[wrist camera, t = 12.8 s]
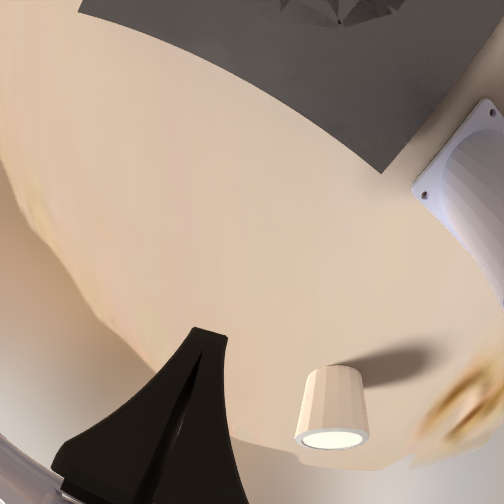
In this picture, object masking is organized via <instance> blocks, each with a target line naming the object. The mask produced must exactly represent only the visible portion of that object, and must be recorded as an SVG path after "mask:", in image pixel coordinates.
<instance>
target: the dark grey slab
mask: <svg viewBox="0 0 504 504" xmlns="http://www.w3.org/2000/svg"><path fill="white" fill-rule="evenodd" d="M78 12H79V13H83V14H87V15H90V16H94V17H97V18H101V19H104V20H107V21H110V22H114V23H117V24H120V25H123V26H125V27H128V28H131V29H134V30H137V31H139V32H142V33H145V34H147V35H150V36H153V37H155V38H158V39H160V40H162V41H165V42H167V43H170V44H172V45H174V46H177V47H179V48H181V49H183V50H186V51H188V52H190V53H192V54H194V55H197V56H199V57H201V58H203V59H205V60H207V61H209V62H211V63H213V64H215V65H217V66H219V67H221V68H223V69H225V70H227V71H229V72H230V73H232V74H234V75H236V76H238V77H240V78H242V79H243V80H245V81H247V82H249V83H251V84H252V85H254V86H256V87H258V88H259V89H261V90H263V91H264V92H266V93H268V94H269V95H271V96H273V97H274V98H276V99H278V100H279V101H281V102H282V103H284V104H286V105H287V106H289V107H290V108H292V109H293V110H295V111H297V112H298V113H300V114H301V115H303V116H304V117H306V118H307V119H309V120H310V121H312V122H313V123H314V124H316V125H317V126H319V127H320V128H322V129H323V130H325V131H326V132H327V133H329V134H330V135H332V136H333V137H334V138H336V139H337V140H338V141H340V142H341V143H342V144H344V145H345V146H346V147H348V148H349V149H350V150H352V151H353V152H354V153H356V154H357V155H358V156H359V157H361V158H362V159H363V160H364V161H366V162H367V163H368V164H369V165H371V166H372V167H373V168H374V169H376V170H377V171H378V172H379V173H380V174H382V173H383V172H384V170H385V169H386V168H387V167H388V166H389V164H390V163H391V162H392V161H393V160H394V159H395V157H396V156H397V155H398V154H399V153H400V151H401V150H402V149H403V148H404V147H405V145H406V144H407V143H408V142H409V141H410V139H411V138H412V137H413V136H414V134H415V133H416V132H417V131H418V129H419V128H420V127H421V126H422V125H423V123H424V122H425V121H426V120H427V118H428V117H429V116H430V115H431V113H432V112H433V111H434V110H435V108H436V107H437V106H438V104H439V103H440V102H441V101H442V99H443V98H444V97H445V95H446V94H447V93H448V92H449V90H450V89H451V88H452V86H453V85H454V84H455V82H456V81H457V80H458V78H459V77H460V76H461V74H462V73H463V72H464V70H465V69H466V68H467V66H468V65H469V64H470V62H471V61H472V60H473V58H474V57H475V56H476V54H477V53H478V51H479V50H480V49H481V47H482V46H483V44H484V43H485V42H486V40H487V39H488V37H489V36H490V34H491V33H492V32H493V30H494V29H495V27H496V26H497V24H498V23H499V21H500V20H501V18H502V17H503V15H504V0H83V1H82V3H81V5H80V7H79V10H78Z"/></svg>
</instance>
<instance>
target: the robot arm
mask: <svg viewBox="0 0 504 504" xmlns="http://www.w3.org/2000/svg"><path fill="white" fill-rule="evenodd" d="M491 109H492V111H493V114H492V116H490V110H491ZM411 192H412V194H413V195H414V196H415V197H416V198H417V199H418V200H419V201H420V202H421V203H422V204H423V205H424V206H425V207H426V208H427V209H428V210H429V211H430V212H431V213H432V214H433V215H434V216H435V217H436V218H437V219H438V220H439V221H440V222H441V223H442V224H443V225H444V226H445V227H446V228H447V229H448V230H449V231H450V232H451V233H452V234H453V236H454V237H455V238H456V239H457V240H458V241H459V242H460V243H461V244H462V245H463V247H464V248H465V249H466V250H467V251H468V252H469V253H470V254H471V256H472V257H473V258H474V260H475V261H476V263H477V265H478V266H479V268H480V270H481V271H482V273H483V275H484V277H485V278H486V280H487V282H488V284H489V285H490V287H491V289H492V291H493V293H494V295H495V296H496V298H497V300H498V302H499V304H500V306H501V308H502V310H503V312H504V117H503V116H502V114H501V113H500V112H499V110H498V109H497V108H496V106H495V105H494V104H493V102H492V101H491V100H490V99H487V98H482V99H481V100H480V101H479V102H478V104H477V105H476V106H475V108H474V109H473V110H472V112H471V113H470V114H469V116H468V117H467V118H466V119H465V121H464V122H463V123H462V125H461V126H460V127H459V128H458V130H457V131H456V132H455V133H454V135H453V136H452V137H451V138H450V140H449V141H448V142H447V143H446V144H445V146H444V147H443V148H442V149H441V151H440V152H439V153H438V154H437V155H436V157H435V158H434V159H433V160H432V161H431V162H430V164H429V165H428V166H427V167H426V168H425V169H424V171H423V172H422V173H421V174H420V175H419V176H418V178H417V179H416V180H415V181H414V182H413V183H412V185H411ZM423 192H427V194H426V196H424V197H421V195H422V193H423ZM227 341H228V338H227V336H225V335H222V334H218V333H215V332H211V331H207V330H204V329H201V328H197V327H194V328H192V329H191V331H190V333H189V334H188V336H187V337H186V339H185V340H184V342H183V343H182V344H181V346H180V347H179V348H178V350H177V351H176V352H175V353H174V355H173V356H172V357H171V358H170V359H169V360H168V362H167V363H166V364H165V365H164V366H163V367H162V369H161V370H160V371H159V372H158V373H157V374H156V375H155V376H154V377H153V378H152V379H151V380H150V381H149V382H148V383H147V384H146V385H145V386H144V387H143V388H142V389H141V390H140V391H139V392H138V393H137V394H135V396H133V397H132V398H131V399H130V400H128V401H127V402H126V403H125V404H124V405H122V406H121V407H120V408H119V409H117V410H116V411H115V412H113V413H112V414H111V415H109V416H108V417H106V418H105V419H103V420H102V421H100V422H99V423H97V424H96V425H94V426H93V427H91V428H90V429H88V430H86V431H84V432H83V433H81V434H79V435H77V436H75V437H74V438H71V439H70V440H68V441H66V442H65V443H64V444H63V445H62V446H61V448H60V449H59V451H58V452H57V454H56V456H55V458H54V460H53V463H52V465H51V469H52V470H53V471H54V472H56V473H57V474H59V475H60V476H62V477H64V479H63V478H61V477H60V476H58V475H56V474H55V473H53V472H51V471H50V470H48V469H47V468H45V467H44V466H42V465H41V464H39V463H38V462H36V461H35V460H33V459H32V458H30V457H29V456H28V455H26V454H25V453H23V452H22V451H21V450H19V449H18V448H17V447H15V446H14V445H13V444H11V443H10V442H9V441H8V440H7V439H6V437H4V436H3V435H2V434H1V433H0V500H1V502H3V504H80V503H81V504H249V502H248V500H247V498H246V495H245V492H244V489H243V486H242V483H241V480H240V477H239V473H238V470H237V466H236V462H235V458H234V454H233V450H232V446H231V441H230V436H229V430H228V424H227V417H226V408H225V397H224V358H225V350H226V346H227ZM182 422H183V423H182ZM181 424H182V425H181ZM180 427H181V428H180ZM179 430H180V431H179ZM178 432H179V433H178ZM177 435H178V436H177ZM62 493H63V494H65V495H66V496H68V497H70V498H72V499H74V500H75V501H77V502H75V501H73V500H71V499H68V498H66V497H63V496H62ZM78 502H79V503H78Z"/></svg>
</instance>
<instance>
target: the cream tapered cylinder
mask: <svg viewBox="0 0 504 504" xmlns="http://www.w3.org/2000/svg"><path fill="white" fill-rule="evenodd" d="M368 440H369V427H368V419H367V411H366V404H365V397H364V390H363V383H362V377H361V374H360V373H359V371H358V370H356V369H354V368H352V367H349V366H343V365H331V366H325V367H322V368H318V369H316V370H315V371H313V372H312V373H310V374H309V376H308V378H307V382H306V387H305V392H304V397H303V402H302V407H301V412H300V416H299V421H298V426H297V430H296V434H295V441H296V443H297V444H299V445H300V446H302V447H305V448H309V449H313V450H324V451H332V450H344V449H349V448H354V447H356V446H359V445H362V444H364V443H365V442H366V441H368Z"/></svg>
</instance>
